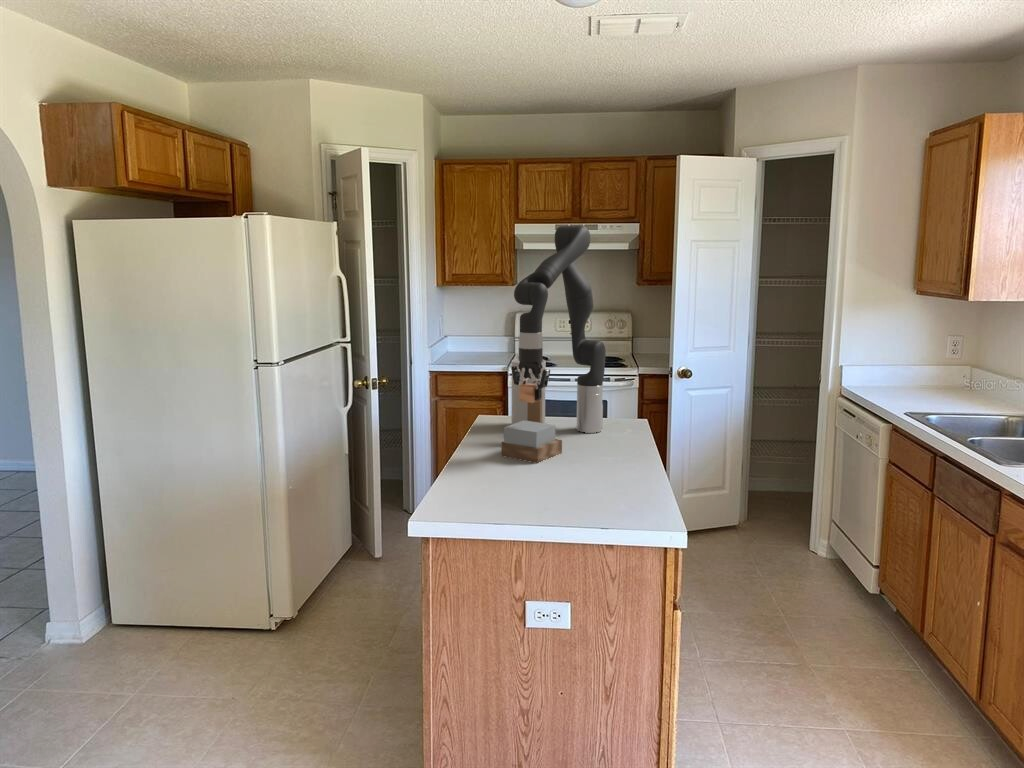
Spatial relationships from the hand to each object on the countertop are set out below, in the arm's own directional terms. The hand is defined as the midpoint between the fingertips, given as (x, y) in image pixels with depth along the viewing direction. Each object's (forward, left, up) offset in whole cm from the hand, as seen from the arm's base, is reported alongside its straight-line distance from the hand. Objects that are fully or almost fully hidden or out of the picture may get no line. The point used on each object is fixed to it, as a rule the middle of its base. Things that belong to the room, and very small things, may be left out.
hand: (530, 399), depth 235 cm
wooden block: (-15, -6, -18) cm, 25 cm away
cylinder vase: (-31, -23, -18) cm, 43 cm away
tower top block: (0, 0, -14) cm, 14 cm away
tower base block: (0, +1, -19) cm, 19 cm away
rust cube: (0, 0, 0) cm, 0 cm away
